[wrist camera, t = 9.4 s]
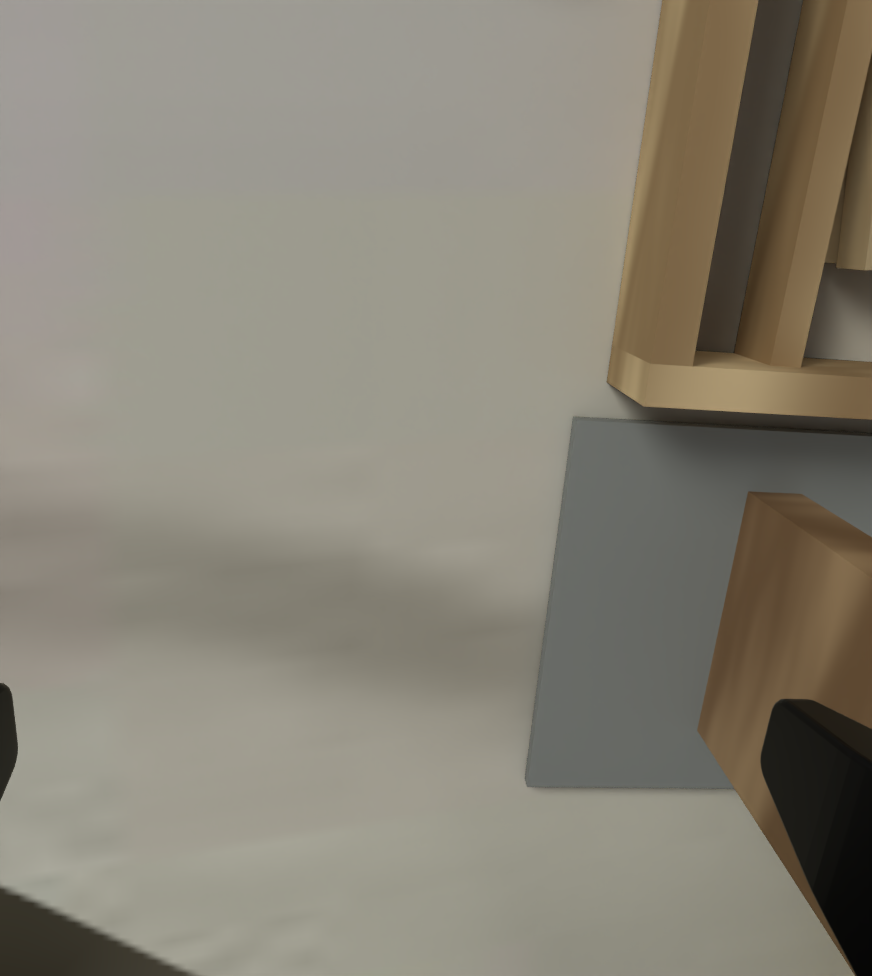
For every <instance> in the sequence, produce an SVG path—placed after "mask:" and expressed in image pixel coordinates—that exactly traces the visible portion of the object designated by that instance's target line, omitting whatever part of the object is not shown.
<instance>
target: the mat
mask: <svg viewBox="0 0 872 976" xmlns="http://www.w3.org/2000/svg"><path fill="white" fill-rule="evenodd" d="M748 491H751V492H772V493H794V494H803V495H804V496H806V497H807V498H809V499H811V500H812V501H814V502H816V503H817V504H819V505H820V506H822V507H824V508H825V509H827V510H829V511H830V512H832V513H833V514H835V515H837V516H838V517H840V518H841V519H843V520H845V521H846V522H848V523H850V524H851V525H853V526H854V527H856V528H858V529H859V530H861V531H862V532H864V533H866V534H867V535H869V536H871V537H872V433H858V432H840V431H822V430H804V429H786V428H768V427H750V426H733V425H715V424H697V423H679V422H661V421H643V420H625V419H608V418H590V417H573V421H572V429H571V436H570V444H569V451H568V459H567V466H566V474H565V481H564V489H563V496H562V504H561V511H560V519H559V526H558V534H557V541H556V548H555V556H554V563H553V571H552V578H551V586H550V593H549V601H548V608H547V616H546V623H545V631H544V638H543V646H542V653H541V661H540V668H539V676H538V683H537V691H536V698H535V705H534V713H533V720H532V728H531V735H530V743H529V750H528V758H527V765H526V773H525V781H526V785H527V787H602V788H729V789H734V787H733V785H732V784H731V782H730V781H729V779H728V778H727V776H726V775H725V773H724V771H723V770H722V768H721V767H720V765H719V764H718V762H717V761H716V759H715V758H714V756H713V754H712V753H711V751H710V750H709V748H708V747H707V745H706V744H705V742H704V740H703V739H702V737H701V736H700V734H699V733H698V731H697V728H698V724H699V719H700V714H701V710H702V705H703V700H704V696H705V691H706V686H707V682H708V677H709V672H710V667H711V663H712V658H713V653H714V649H715V644H716V639H717V635H718V630H719V625H720V621H721V616H722V611H723V607H724V602H725V597H726V592H727V588H728V583H729V578H730V574H731V569H732V564H733V560H734V555H735V550H736V546H737V541H738V536H739V532H740V527H741V522H742V518H743V513H744V508H745V503H746V499H747V494H748Z"/></svg>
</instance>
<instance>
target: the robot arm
mask: <svg viewBox="0 0 872 976" xmlns="http://www.w3.org/2000/svg"><path fill="white" fill-rule="evenodd" d="M17 754H18V742H17V733H16V724H15V716H14V707H13V698H12V694H11V691H10V689H9V687H8V686H6V685H5V684H4V683H0V800H1V798H2V796H3V793H4V791H5V789H6V786H7V784H8V781H9V779H10V777H11V774H12V772H13V769H14V767H15V763H16V760H17ZM760 763H761V770H762V774H763V777H764V780H765V782H766V785H767V787H768V789H769V792H770V794H771V797H772V799H773V801H774V804H775V806H776V809H777V811H778V813H779V816H780V818H781V821H782V823H783V825H784V828H785V830H786V833H787V835H788V837H789V840H790V842H791V845H792V847H793V849H794V852H795V854H796V857H797V859H798V861H799V864H800V866H801V869H802V871H803V873H804V876H805V878H806V880H807V882H808V884H809V887H810V889H811V891H812V893H813V895H814V897H815V899H816V901H817V903H818V905H819V907H820V909H821V911H822V913H823V915H824V917H825V919H826V920H827V922H828V924H829V926H830V928H831V930H832V932H833V933H834V935H835V937H836V939H837V941H838V943H839V945H840V947H841V948H842V950H843V952H844V954H845V956H846V958H847V960H848V962H849V963H850V965H851V967H852V969H853V971H854V973H855V975H856V976H872V729H871V728H869V727H867V726H865V725H863V724H861V723H859V722H857V721H855V720H853V719H851V718H849V717H847V716H844V715H842V714H840V713H838V712H836V711H834V710H832V709H830V708H828V707H826V706H824V705H822V704H820V703H818V702H816V701H814V700H809V699H780V700H779V701H777V702H776V703H775V704H774V706H773V708H772V711H771V715H770V719H769V723H768V727H767V731H766V735H765V739H764V743H763V747H762V751H761V758H760Z"/></svg>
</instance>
